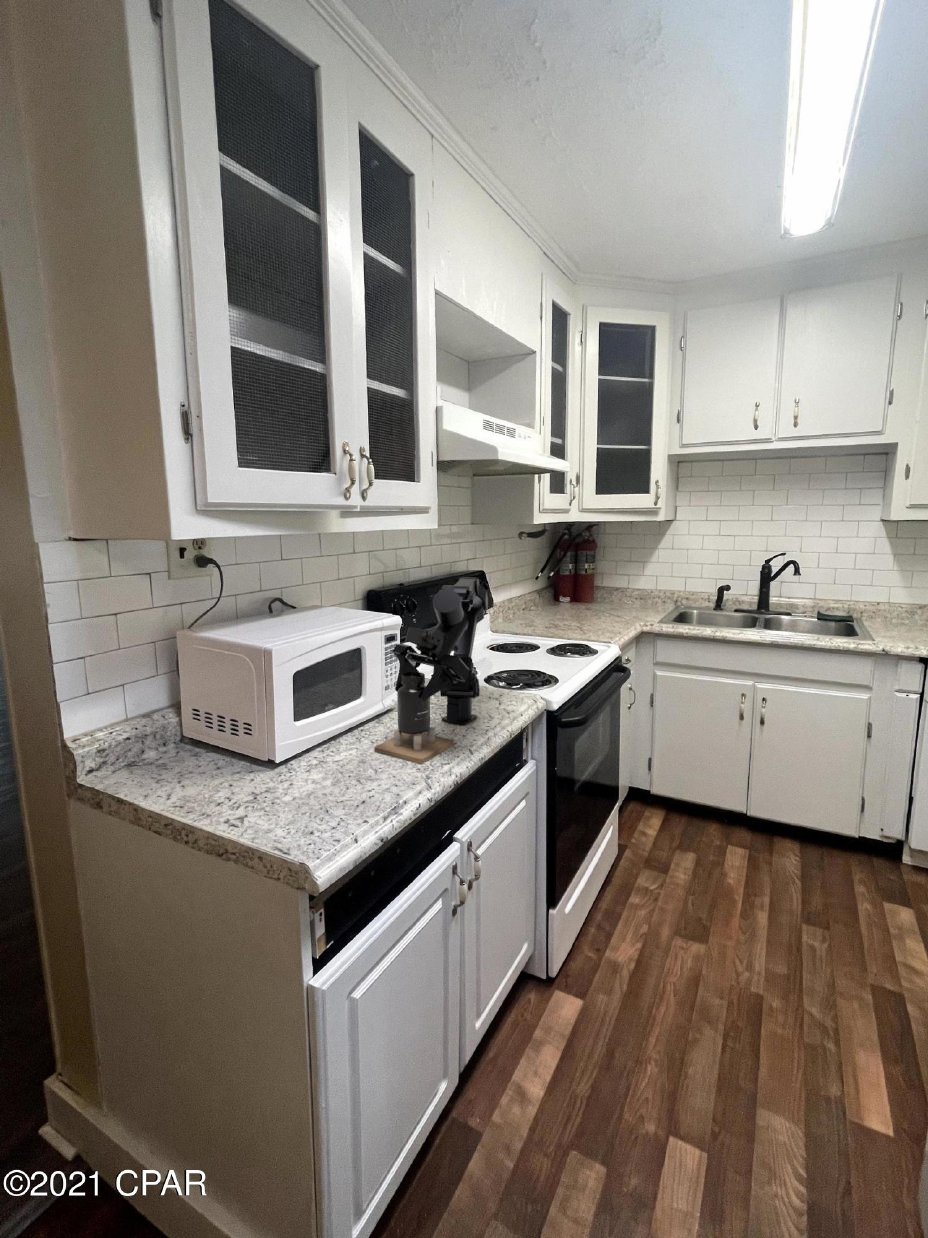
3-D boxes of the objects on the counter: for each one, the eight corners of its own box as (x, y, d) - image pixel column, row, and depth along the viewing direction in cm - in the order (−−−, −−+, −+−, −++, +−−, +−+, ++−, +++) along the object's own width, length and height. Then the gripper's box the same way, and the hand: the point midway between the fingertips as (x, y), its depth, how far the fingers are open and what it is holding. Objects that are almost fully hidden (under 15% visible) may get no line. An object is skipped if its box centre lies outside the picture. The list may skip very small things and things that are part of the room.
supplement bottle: (425, 736, 120) (424, 679, 118) (393, 734, 122) (391, 677, 120) (433, 724, 127) (432, 670, 125) (403, 723, 128) (401, 669, 126)
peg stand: (408, 733, 133) (408, 716, 132) (453, 744, 127) (453, 726, 126) (374, 751, 123) (374, 733, 122) (421, 764, 117) (421, 745, 116)
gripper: (397, 607, 129) (358, 665, 123) (460, 618, 116) (419, 683, 110) (424, 637, 136) (388, 693, 130) (485, 650, 123) (448, 713, 117)
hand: (409, 695), depth 122 cm, fingers open, 8 cm apart
